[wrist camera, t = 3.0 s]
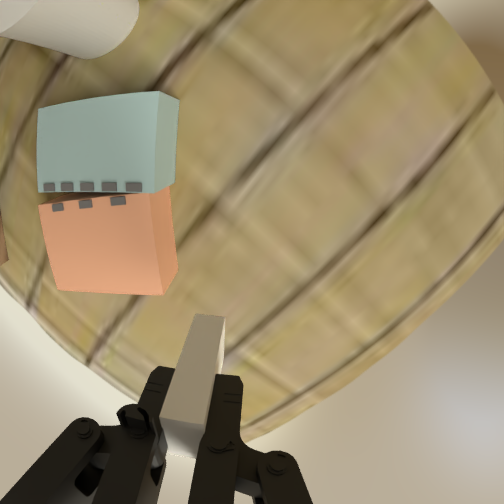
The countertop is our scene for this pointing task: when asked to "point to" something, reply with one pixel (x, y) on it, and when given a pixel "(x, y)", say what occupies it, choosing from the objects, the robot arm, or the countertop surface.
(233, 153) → the countertop surface
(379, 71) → the countertop surface
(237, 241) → the countertop surface
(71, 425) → the robot arm
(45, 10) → the cup
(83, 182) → the pale teal block
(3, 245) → the rail
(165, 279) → the stub
